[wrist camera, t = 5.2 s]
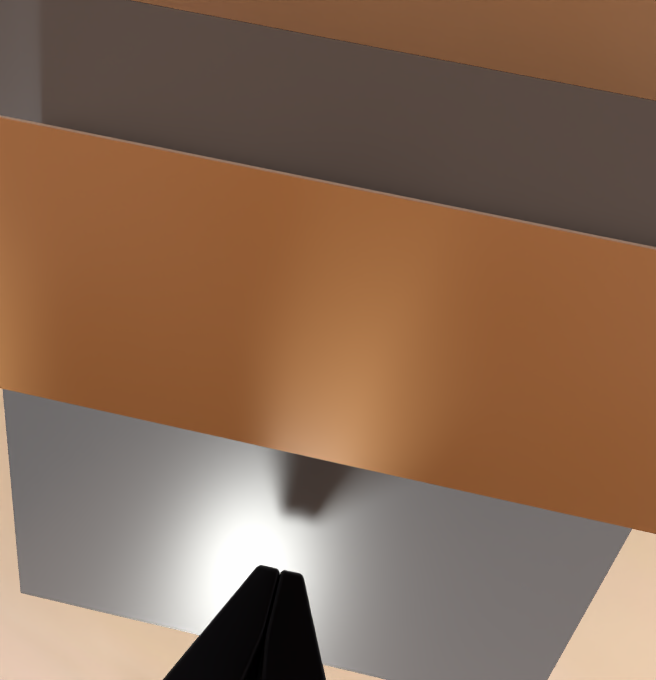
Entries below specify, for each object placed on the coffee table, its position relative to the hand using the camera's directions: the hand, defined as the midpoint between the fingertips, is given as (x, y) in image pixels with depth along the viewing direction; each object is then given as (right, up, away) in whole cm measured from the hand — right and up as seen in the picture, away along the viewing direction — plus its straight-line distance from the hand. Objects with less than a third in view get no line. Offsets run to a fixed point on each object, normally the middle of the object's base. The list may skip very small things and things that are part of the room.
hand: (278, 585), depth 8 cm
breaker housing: (+1, +3, +2) cm, 4 cm away
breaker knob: (+1, +5, -1) cm, 6 cm away
